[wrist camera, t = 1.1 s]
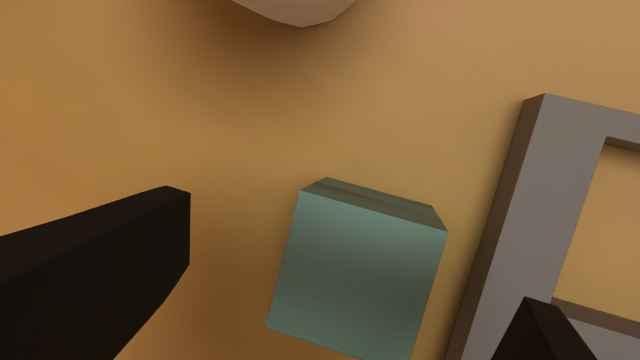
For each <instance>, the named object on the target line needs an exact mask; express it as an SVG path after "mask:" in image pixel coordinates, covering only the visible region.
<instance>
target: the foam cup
mask: <svg viewBox="0 0 640 360" xmlns="http://www.w3.org/2000/svg"><path fill="white" fill-rule="evenodd" d="M232 1H234V2H236V3H238V4H240V5H242V6H244V7H246V8H248V9H250V10H252V11H254V12H256V13H258V14H260V15H262V16H264V17H266V18H268V19H272V20H273V21H277V22H281V23H285V24H289V25H293V26H297V27H301V28H303V27H307V26H311V25H316V24H320V23H324V22H328V21H332V20H333V19H335V18H336V17H337V16H338V15H340V14H341V13H342V12H343V11H345V10H346V9H347V8H348V7H350V6H351V5H352V4H353V3H355V2H356V1H357V0H232Z"/></svg>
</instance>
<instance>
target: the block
mask: <svg viewBox="0 0 640 360" xmlns="http://www.w3.org/2000/svg"><path fill="white" fill-rule="evenodd" d="M447 235H448V231H447V229H446V228H445V226H444V225H443V223H442V221H441V220H440V218H439V217H438V215H437V214H436V212H435V210H434V209H433V207H432V206H431V205H427V204H423V203H420V202H416V201H412V200H409V199H405V198H401V197H398V196H394V195H390V194H387V193H383V192H379V191H376V190H372V189H369V188H365V187H361V186H358V185H354V184H350V183H347V182H343V181H339V180H336V179H332V178H328V177H326V178H323V179H321V180H319V181H317V182H315V183H313V184H311V185H309V186H307V187H305V188H303V189H301V190H300V191H299V195H298V199H297V203H296V207H295V211H294V215H293V219H292V223H291V227H290V231H289V235H288V239H287V243H286V247H285V251H284V255H283V259H282V263H281V267H280V270H279V274H278V278H277V282H276V286H275V290H274V294H273V298H272V302H271V306H270V310H269V314H268V318H267V322H266V326H265V328H269V329H272V330H275V331H278V332H281V333H284V334H287V335H290V336H293V337H296V338H299V339H302V340H305V341H308V342H311V343H314V344H317V345H320V346H323V347H326V348H329V349H332V350H335V351H338V352H341V353H344V354H347V355H350V356H353V357H356V358H359V359H362V360H410V358H411V355H412V351H413V348H414V345H415V341H416V338H417V335H418V331H419V328H420V325H421V321H422V318H423V315H424V311H425V308H426V305H427V301H428V298H429V295H430V291H431V288H432V285H433V281H434V278H435V275H436V271H437V268H438V265H439V261H440V258H441V255H442V251H443V248H444V245H445V241H446V238H447Z"/></svg>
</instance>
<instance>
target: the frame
mask: <svg viewBox="0 0 640 360" xmlns="http://www.w3.org/2000/svg"><path fill="white" fill-rule="evenodd" d="M604 143H605V144H609V145H613V146H617V147H622V148H626V149H630V150H634V151H638V152H640V115H639V114H634V113H630V112H626V111H621V110H617V109H612V108H608V107H604V106H599V105H595V104H591V103H586V102H582V101H578V100H573V99H569V98H564V97H560V96H556V95H551V94H547V93H544V94H541V95H538V96H535V97H532V98H529V99H526V100H525V101H524V104H523V107H522V110H521V114H520V117H519V120H518V123H517V127H516V130H515V133H514V136H513V139H512V143H511V146H510V149H509V152H508V156H507V159H506V162H505V165H504V168H503V172H502V175H501V178H500V181H499V185H498V188H497V191H496V194H495V197H494V201H493V204H492V207H491V210H490V214H489V217H488V220H487V223H486V226H485V230H484V233H483V236H482V239H481V243H480V246H479V249H478V252H477V255H476V259H475V262H474V265H473V268H472V272H471V275H470V278H469V281H468V284H467V288H466V291H465V294H464V297H463V301H462V304H461V307H460V310H459V313H458V317H457V320H456V323H455V326H454V330H453V333H452V336H451V339H450V342H449V346H448V349H447V352H446V355H445V359H444V360H491V358H492V356H493V354H494V352H495V350H496V349H497V347H498V345H499V343H500V341H501V339H502V337H503V335H504V334H505V332H506V330H507V328H508V326H509V324H510V322H511V320H512V319H513V317H514V315H515V313H516V311H517V309H518V307H519V305H520V303H521V302H522V300H523V298H524V296H526V297H529V298H533V299H536V300H539V301H542V302H546V303H549V304H552V305H555V306H558V307H559V309H560V310H561V311H562V312H563V314H564V315H565V316H566V317H567V319H568V320H569V321H570V323H571V324H572V325H573V327H574V328H575V329H576V331H577V332H578V334H579V335H580V336H581V338H582V339H583V340H584V342H585V343H586V344H587V346H588V347H589V349H590V350H591V351H592V353H593V354H594V355H595V357H596V358H597V359H598V360H640V323H639V322H635V321H632V320H628V319H625V318H621V317H618V316H615V315H611V314H608V313H604V312H601V311H598V310H594V309H591V308H587V307H584V306H580V305H577V304H574V303H570V302H567V301H563V300H560V299H556V298H553V297H552V296H553V293H554V290H555V287H556V284H557V281H558V278H559V275H560V272H561V269H562V266H563V263H564V260H565V257H566V254H567V251H568V248H569V245H570V242H571V239H572V236H573V234H574V231H575V228H576V225H577V222H578V219H579V216H580V213H581V210H582V207H583V204H584V201H585V198H586V195H587V192H588V189H589V186H590V183H591V180H592V177H593V174H594V171H595V168H596V165H597V162H598V159H599V156H600V154H601V151H602V148H603V145H604Z"/></svg>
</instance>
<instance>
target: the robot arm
mask: <svg viewBox="0 0 640 360" xmlns="http://www.w3.org/2000/svg"><path fill="white" fill-rule="evenodd" d="M190 198H191V193H189V192H186V191H182V190H179V189H176V188H173V187H169V186H163V187H159V188H155V189H151V190H148V191H145V192H141V193H138V194H135V195H132V196H129V197H126V198H123V199H120V200H117V201H114V202H111V203H108V204H105V205H102V206H99V207H96V208H92V209H89V210H86V211H83V212H80V213H77V214H74V215H71V216H68V217H65V218H61V219H58V220H55V221H51V222H48V223H44V224H41V225H38V226H34V227H31V228H27V229H24V230H20V231H17V232H14V233H10V234H7V235H3V236H0V360H113V359H114V358H115V357H116V356H117V355H118V353H119V352H120V351H121V350H122V349H123V348H124V347H125V346H126V344H127V343H128V342H129V341H130V340H131V339H132V338H133V337H134V335H135V334H136V333H137V332H138V331H139V330H140V329H141V328H142V326H143V325H144V324H145V323H146V322H147V321H148V320H149V318H150V317H151V316H152V315H153V314H154V313H155V312H156V310H157V309H158V308H159V307H160V306H161V305H162V303H163V302H164V301H165V300H166V298H167V297H168V295H169V294H170V293H171V291H172V290H173V288H174V287H175V285H176V284H177V282H178V281H179V279H180V278H181V276H182V275H183V273H184V272H185V270H186V269H187V267H188V266H189V260H190ZM491 360H598V359H597V358H596V357H595V355H594V354H593V353H592V351H591V350H590V349H589V347H588V346H587V344H586V343H585V342H584V340H583V339H582V338H581V336H580V335H579V334H578V332H577V331H576V329H575V328H574V327H573V325H572V324H571V323H570V321H569V320H568V319H567V317H566V316H565V315H564V314H563V312H562V311H561V310H560V309H559V307H558V306H555V305H552V304H549V303H546V302H542V301H539V300H536V299H533V298H529V297H526V296H524V298H523V300H522V302H521V303H520V305H519V307H518V309H517V311H516V313H515V315H514V317H513V319H512V320H511V322H510V324H509V326H508V328H507V330H506V332H505V334H504V335H503V337H502V339H501V341H500V343H499V345H498V347H497V349H496V350H495V352H494V354H493V356H492V358H491Z"/></svg>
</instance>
